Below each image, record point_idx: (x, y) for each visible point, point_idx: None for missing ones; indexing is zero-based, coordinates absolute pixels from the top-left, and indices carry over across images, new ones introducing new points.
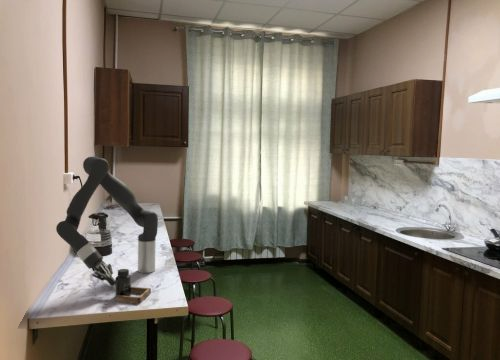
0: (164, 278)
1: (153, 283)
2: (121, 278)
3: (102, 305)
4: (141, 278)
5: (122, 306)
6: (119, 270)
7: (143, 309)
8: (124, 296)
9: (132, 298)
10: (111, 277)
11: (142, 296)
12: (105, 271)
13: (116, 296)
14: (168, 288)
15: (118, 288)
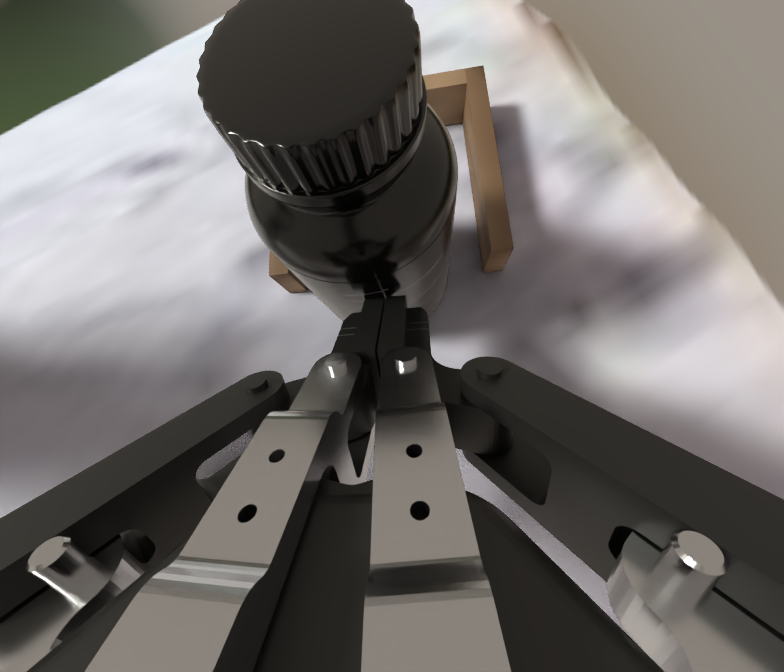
0: (9, 194)
1: (107, 212)
2: (434, 127)
3: (617, 325)
4: (8, 345)
5: (567, 180)
6: (335, 103)
7: (554, 45)
8: (498, 179)
9: (489, 125)
10: (373, 342)
11: (434, 79)
12: (430, 430)
13: (511, 247)
14: (186, 88)
15: (451, 240)
